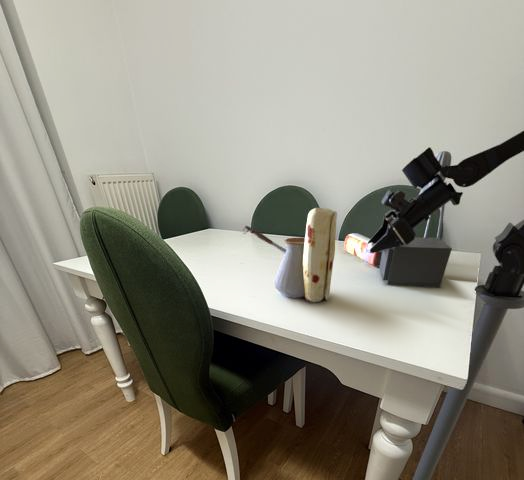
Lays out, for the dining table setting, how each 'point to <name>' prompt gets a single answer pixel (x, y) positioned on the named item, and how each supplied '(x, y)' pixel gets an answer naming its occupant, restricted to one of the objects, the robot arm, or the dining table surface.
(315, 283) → the food model
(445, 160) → the citrus juicer
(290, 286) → the coffee pot
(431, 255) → the dark grey box
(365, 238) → the snack package
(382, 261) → the grey drawer
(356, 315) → the dining table surface
